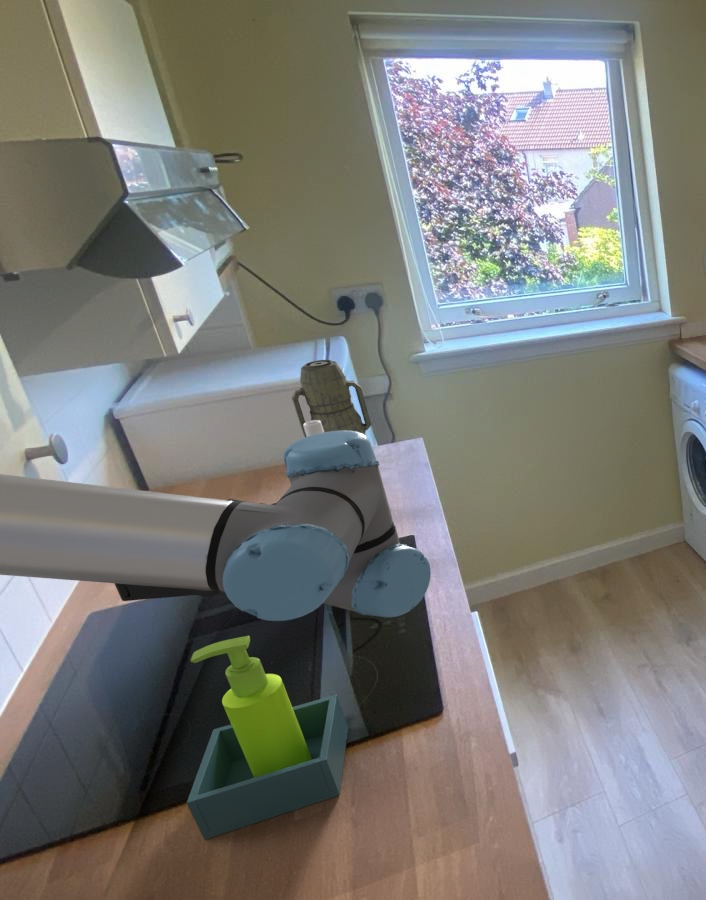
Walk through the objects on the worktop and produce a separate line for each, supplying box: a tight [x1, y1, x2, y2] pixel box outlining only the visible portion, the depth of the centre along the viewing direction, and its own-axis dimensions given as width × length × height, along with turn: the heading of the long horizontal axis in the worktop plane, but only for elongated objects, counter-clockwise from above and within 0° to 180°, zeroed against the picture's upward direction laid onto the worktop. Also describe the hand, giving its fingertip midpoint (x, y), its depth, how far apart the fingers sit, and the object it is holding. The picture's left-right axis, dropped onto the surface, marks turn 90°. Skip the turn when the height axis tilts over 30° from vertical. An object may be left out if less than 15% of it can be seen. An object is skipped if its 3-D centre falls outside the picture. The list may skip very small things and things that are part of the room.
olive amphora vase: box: [291, 359, 372, 438], centre depth 150 cm, size 9×12×35 cm
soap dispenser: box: [189, 635, 312, 778], centre depth 88 cm, size 6×7×20 cm
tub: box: [186, 694, 349, 841], centre depth 91 cm, size 14×13×6 cm
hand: (172, 534), depth 88 cm, fingers open, 13 cm apart
